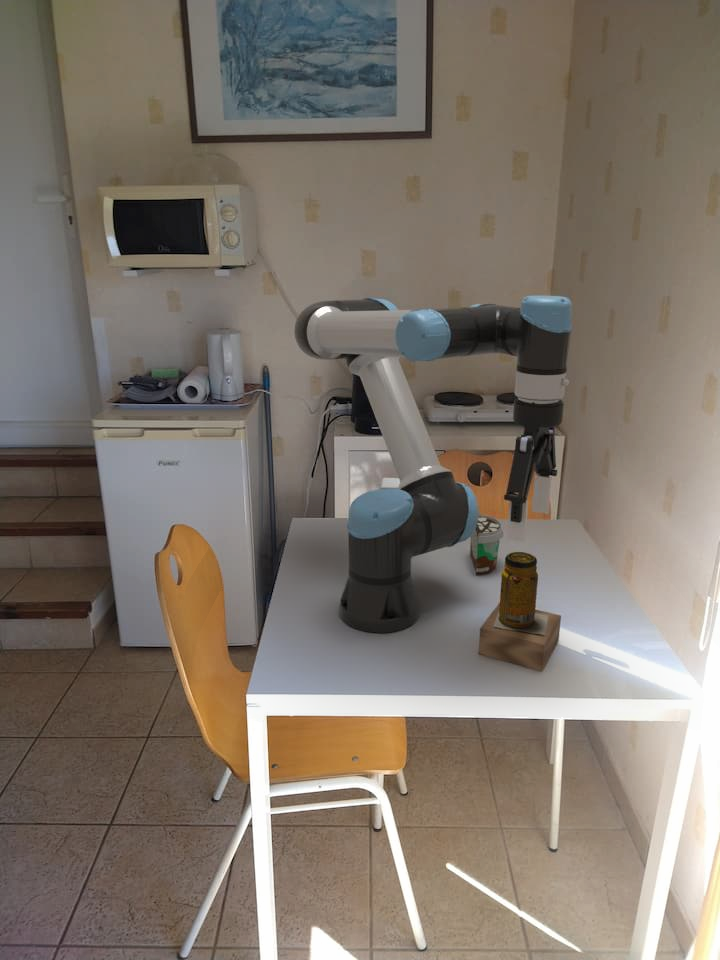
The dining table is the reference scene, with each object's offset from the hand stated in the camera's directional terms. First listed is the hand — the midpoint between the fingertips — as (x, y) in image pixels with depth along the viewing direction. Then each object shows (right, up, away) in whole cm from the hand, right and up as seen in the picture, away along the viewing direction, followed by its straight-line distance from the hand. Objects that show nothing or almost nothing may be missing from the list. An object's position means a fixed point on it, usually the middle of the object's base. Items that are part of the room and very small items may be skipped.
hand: (528, 525), depth 118 cm
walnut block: (0, -22, +7) cm, 23 cm away
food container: (0, -12, +38) cm, 40 cm away
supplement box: (-19, -5, +57) cm, 61 cm away
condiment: (0, -17, +5) cm, 18 cm away
